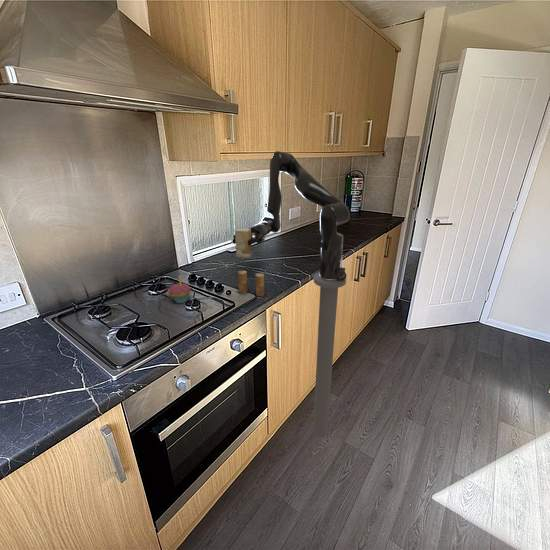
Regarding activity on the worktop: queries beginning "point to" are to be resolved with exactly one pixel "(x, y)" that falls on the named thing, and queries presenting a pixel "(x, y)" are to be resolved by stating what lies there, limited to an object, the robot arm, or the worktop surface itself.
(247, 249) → the cosmetic box
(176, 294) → the cupcake
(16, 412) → the worktop surface
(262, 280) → the oak pegs
